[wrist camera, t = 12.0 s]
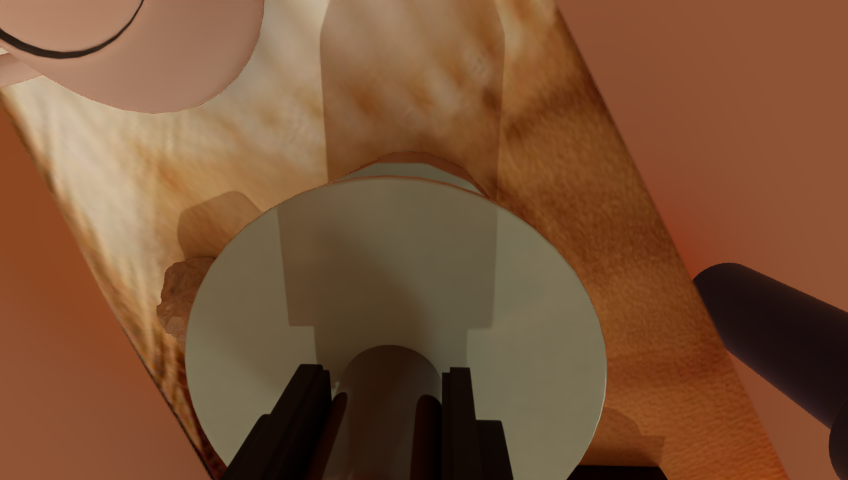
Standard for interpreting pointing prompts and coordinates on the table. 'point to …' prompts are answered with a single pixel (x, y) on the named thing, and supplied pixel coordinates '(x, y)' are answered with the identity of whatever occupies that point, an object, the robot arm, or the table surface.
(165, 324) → the stone tool
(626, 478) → the button block
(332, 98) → the table surface
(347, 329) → the lid
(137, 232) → the table surface
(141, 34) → the teapot
